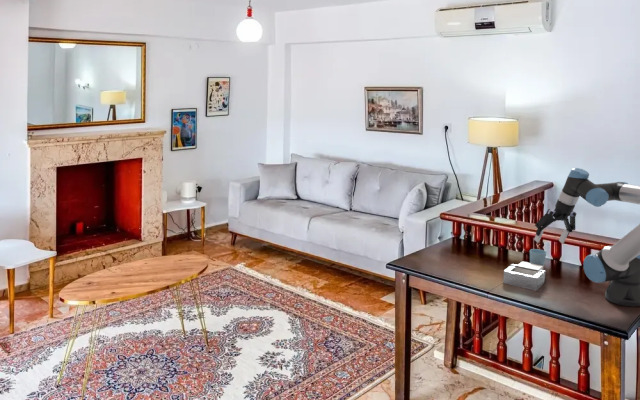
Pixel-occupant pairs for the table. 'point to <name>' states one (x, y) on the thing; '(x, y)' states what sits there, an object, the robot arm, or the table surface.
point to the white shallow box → (528, 268)
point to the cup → (537, 256)
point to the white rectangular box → (523, 279)
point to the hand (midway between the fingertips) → (548, 241)
